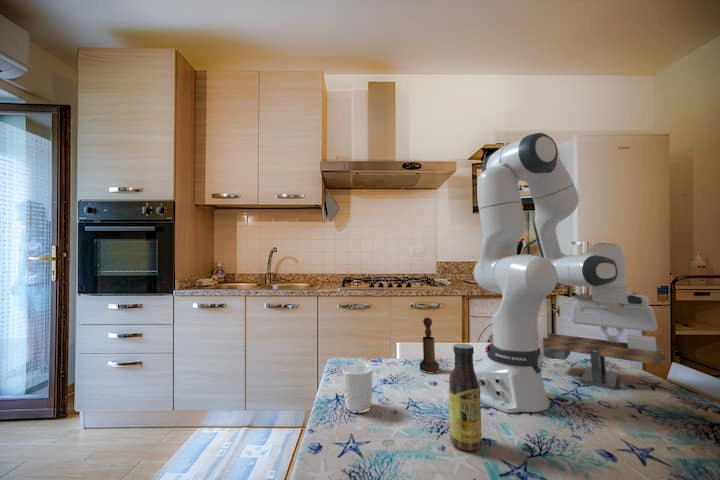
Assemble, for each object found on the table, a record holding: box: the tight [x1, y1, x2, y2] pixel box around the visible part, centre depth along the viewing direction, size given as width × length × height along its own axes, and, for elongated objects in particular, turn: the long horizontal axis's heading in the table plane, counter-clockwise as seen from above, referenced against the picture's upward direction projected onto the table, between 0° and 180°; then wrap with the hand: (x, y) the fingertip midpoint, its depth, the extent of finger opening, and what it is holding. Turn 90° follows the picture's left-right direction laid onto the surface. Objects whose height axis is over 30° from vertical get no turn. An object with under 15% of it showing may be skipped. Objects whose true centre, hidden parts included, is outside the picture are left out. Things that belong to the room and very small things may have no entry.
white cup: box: [342, 363, 373, 411], centre depth 81 cm, size 8×8×10 cm
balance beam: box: [542, 332, 667, 367], centre depth 96 cm, size 29×10×7 cm, turn 47°
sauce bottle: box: [448, 343, 482, 452], centre depth 65 cm, size 7×6×20 cm
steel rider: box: [626, 333, 657, 353], centre depth 89 cm, size 6×6×4 cm
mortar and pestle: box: [419, 317, 440, 372], centre depth 108 cm, size 7×6×18 cm
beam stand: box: [579, 351, 619, 390], centre depth 96 cm, size 8×14×10 cm, turn 137°
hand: (613, 342), depth 94 cm, fingers closed
